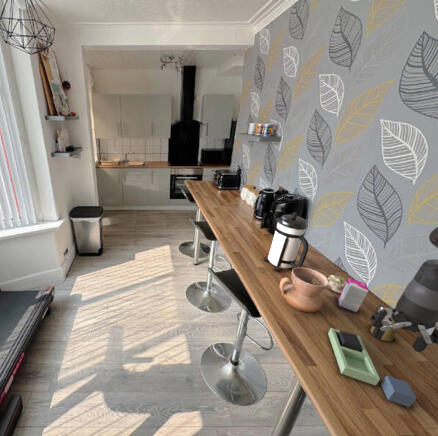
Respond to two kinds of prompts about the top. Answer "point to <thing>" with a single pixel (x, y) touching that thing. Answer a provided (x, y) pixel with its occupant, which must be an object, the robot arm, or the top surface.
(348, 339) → the dark grey block
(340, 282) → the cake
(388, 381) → the blue block
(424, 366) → the top surface
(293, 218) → the coffee press
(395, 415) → the top surface
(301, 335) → the top surface
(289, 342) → the top surface
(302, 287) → the ceramic jug
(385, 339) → the cork
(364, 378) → the frame
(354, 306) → the supplement box
